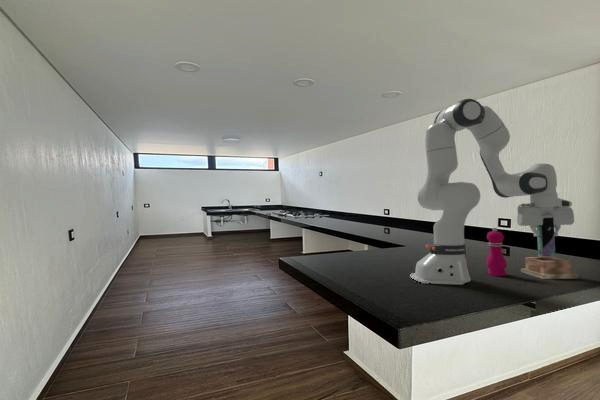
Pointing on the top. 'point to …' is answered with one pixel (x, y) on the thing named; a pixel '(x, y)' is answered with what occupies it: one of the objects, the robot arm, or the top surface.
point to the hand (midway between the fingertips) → (545, 236)
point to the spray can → (546, 237)
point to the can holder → (549, 268)
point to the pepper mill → (496, 254)
